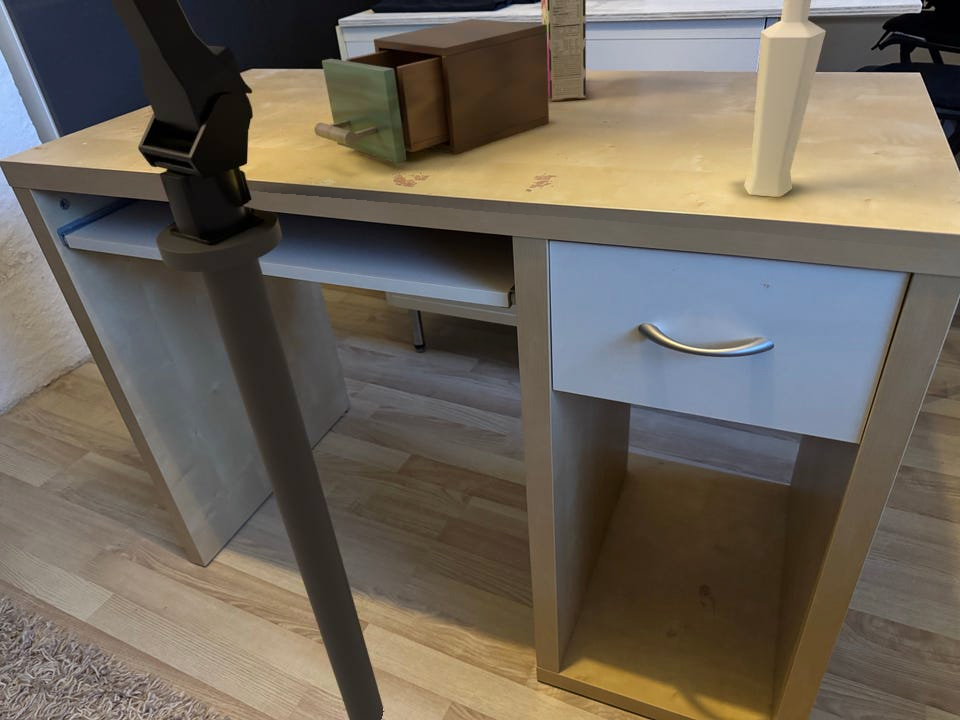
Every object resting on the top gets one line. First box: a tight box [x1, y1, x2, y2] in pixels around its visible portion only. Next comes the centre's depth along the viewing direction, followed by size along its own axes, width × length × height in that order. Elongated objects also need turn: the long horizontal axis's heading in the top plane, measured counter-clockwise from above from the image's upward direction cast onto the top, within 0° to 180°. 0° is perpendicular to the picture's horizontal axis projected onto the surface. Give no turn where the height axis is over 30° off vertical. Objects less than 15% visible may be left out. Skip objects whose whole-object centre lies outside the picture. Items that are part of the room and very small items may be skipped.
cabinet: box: [373, 18, 550, 155], centre depth 78 cm, size 15×13×11 cm
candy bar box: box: [540, 0, 587, 102], centre depth 89 cm, size 11×5×16 cm, turn 0°
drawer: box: [314, 49, 450, 164], centre depth 73 cm, size 17×11×9 cm, turn 132°
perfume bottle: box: [743, 0, 827, 198], centre depth 55 cm, size 5×4×15 cm
